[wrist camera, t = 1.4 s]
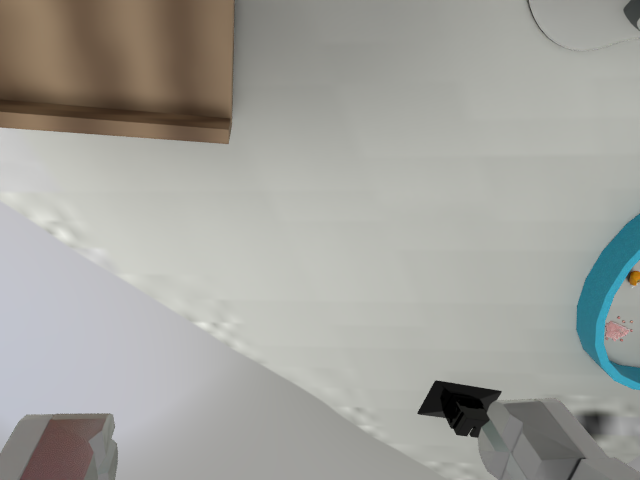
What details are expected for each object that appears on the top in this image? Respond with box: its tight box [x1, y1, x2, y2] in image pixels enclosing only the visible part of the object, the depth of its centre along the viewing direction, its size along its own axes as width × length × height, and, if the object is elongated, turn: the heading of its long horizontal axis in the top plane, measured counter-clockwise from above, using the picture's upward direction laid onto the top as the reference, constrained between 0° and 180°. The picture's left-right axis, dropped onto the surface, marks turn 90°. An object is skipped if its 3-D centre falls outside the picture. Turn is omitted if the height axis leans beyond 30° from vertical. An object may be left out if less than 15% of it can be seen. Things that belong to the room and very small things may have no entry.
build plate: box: [417, 381, 502, 438], centre depth 58 cm, size 13×8×5 cm, turn 72°
